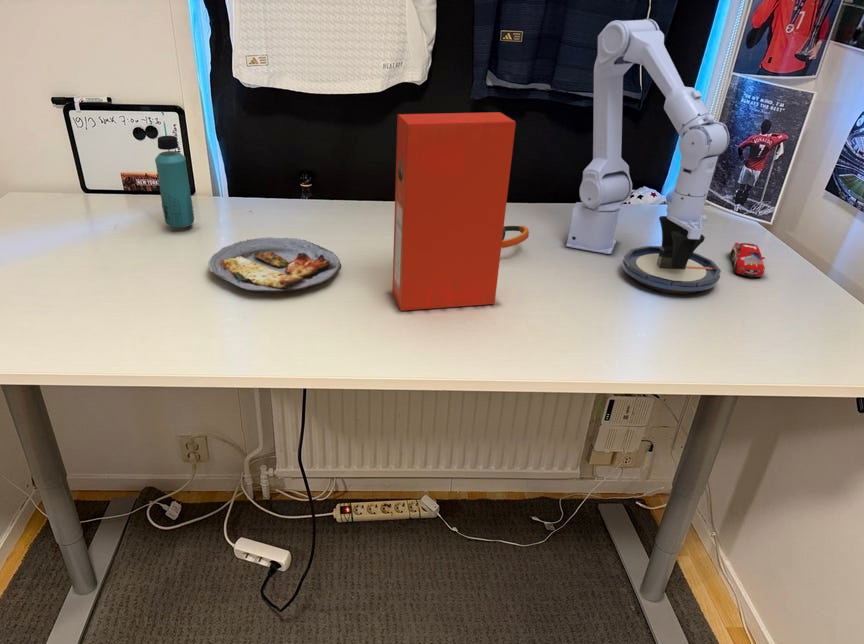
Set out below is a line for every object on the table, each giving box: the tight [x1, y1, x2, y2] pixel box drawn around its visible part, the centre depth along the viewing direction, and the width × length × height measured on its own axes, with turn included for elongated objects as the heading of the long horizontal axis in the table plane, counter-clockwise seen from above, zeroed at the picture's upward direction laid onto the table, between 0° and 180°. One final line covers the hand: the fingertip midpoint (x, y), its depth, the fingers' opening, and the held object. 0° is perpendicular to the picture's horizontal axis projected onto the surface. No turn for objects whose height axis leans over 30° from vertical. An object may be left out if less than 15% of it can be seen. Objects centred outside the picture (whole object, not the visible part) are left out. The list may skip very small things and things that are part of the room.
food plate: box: [208, 236, 342, 293], centre depth 132 cm, size 25×23×4 cm
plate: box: [621, 245, 722, 292], centre depth 132 cm, size 18×18×5 cm
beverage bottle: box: [154, 135, 196, 228], centre depth 146 cm, size 6×7×20 cm
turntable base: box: [635, 279, 698, 295], centre depth 134 cm, size 13×13×2 cm
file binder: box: [391, 111, 517, 312], centre depth 116 cm, size 8×17×32 cm, turn 101°
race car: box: [729, 241, 766, 278], centre depth 139 cm, size 13×5×4 cm, turn 161°
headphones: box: [501, 225, 530, 249], centre depth 145 cm, size 17×5×20 cm
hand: (672, 260), depth 132 cm, fingers open, 6 cm apart
